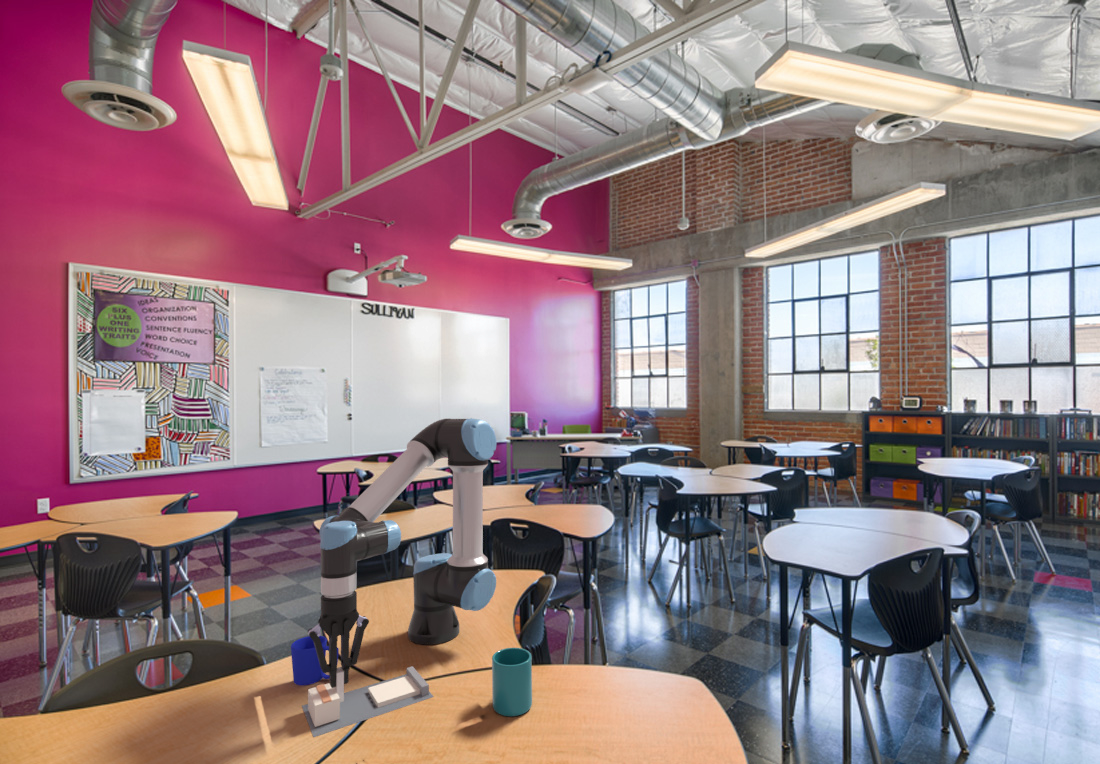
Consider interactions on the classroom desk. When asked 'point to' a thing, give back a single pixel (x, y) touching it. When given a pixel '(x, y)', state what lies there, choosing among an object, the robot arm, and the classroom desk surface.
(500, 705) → the cup
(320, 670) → the mug
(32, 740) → the classroom desk surface
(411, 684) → the clipboard
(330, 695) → the white box
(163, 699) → the classroom desk surface
